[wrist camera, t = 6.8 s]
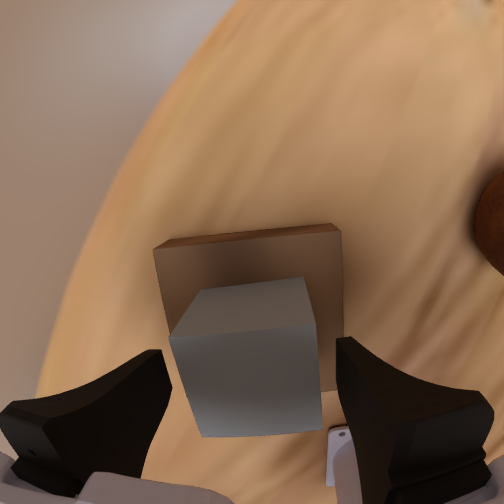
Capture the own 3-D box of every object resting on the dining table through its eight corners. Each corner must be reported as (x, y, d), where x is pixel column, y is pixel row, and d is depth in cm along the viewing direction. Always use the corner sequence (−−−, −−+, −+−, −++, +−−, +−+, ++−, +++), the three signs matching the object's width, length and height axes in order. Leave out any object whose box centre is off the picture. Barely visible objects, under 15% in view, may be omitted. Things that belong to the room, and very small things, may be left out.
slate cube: (303, 276, 15) (315, 322, 10) (312, 364, 16) (322, 429, 11) (200, 289, 15) (168, 337, 10) (220, 373, 16) (202, 437, 11)
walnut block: (329, 222, 17) (340, 230, 14) (334, 361, 19) (341, 389, 16) (171, 238, 18) (152, 249, 15) (197, 370, 20) (187, 397, 17)
